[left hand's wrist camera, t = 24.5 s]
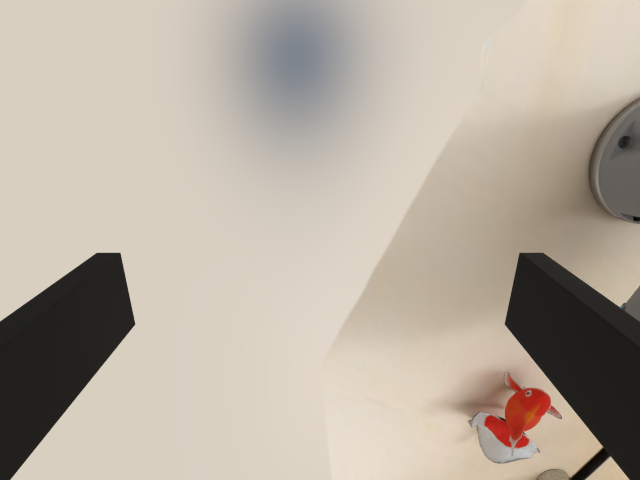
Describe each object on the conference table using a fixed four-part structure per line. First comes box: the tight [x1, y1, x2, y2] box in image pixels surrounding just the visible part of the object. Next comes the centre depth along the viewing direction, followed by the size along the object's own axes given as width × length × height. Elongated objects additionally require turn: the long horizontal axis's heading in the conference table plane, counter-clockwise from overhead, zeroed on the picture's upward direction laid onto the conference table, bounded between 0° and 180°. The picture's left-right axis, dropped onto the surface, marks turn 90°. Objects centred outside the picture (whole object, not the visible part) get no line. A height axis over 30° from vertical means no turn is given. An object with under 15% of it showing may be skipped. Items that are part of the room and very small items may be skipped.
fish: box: [468, 373, 562, 463], centre depth 54 cm, size 11×16×10 cm
